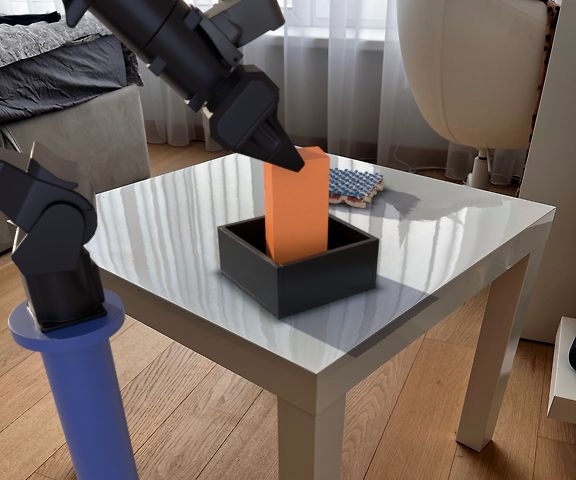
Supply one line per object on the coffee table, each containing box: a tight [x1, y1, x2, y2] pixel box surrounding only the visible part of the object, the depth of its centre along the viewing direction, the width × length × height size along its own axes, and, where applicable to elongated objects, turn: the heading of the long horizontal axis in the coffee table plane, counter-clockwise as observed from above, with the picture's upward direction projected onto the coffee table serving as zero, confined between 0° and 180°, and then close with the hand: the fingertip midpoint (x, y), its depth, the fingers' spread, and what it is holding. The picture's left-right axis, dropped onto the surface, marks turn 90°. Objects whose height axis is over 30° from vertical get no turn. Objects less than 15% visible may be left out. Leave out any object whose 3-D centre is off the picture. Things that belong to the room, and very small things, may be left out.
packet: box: [262, 146, 331, 264], centre depth 62 cm, size 6×4×13 cm
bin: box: [216, 212, 380, 320], centre depth 65 cm, size 12×12×6 cm
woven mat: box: [329, 167, 387, 209], centre depth 89 cm, size 10×11×2 cm
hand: (287, 154), depth 59 cm, fingers open, 9 cm apart
